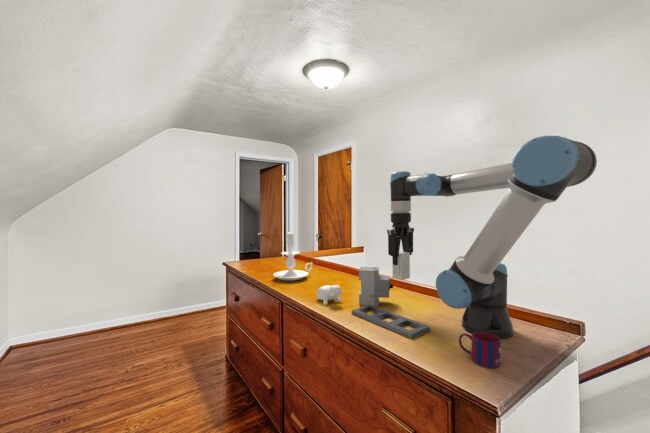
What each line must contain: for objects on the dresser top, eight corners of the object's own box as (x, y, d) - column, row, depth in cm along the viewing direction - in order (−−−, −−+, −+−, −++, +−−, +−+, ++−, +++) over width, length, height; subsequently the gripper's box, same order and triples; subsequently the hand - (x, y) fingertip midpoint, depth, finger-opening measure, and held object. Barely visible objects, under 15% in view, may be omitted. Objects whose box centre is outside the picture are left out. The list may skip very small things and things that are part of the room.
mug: (496, 371, 73) (496, 345, 73) (455, 358, 80) (455, 333, 80) (503, 361, 78) (503, 336, 78) (464, 349, 85) (464, 326, 85)
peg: (409, 278, 113) (409, 252, 113) (402, 280, 110) (401, 253, 110) (400, 276, 117) (400, 251, 116) (392, 277, 114) (392, 252, 114)
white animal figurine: (316, 307, 132) (331, 303, 119) (312, 288, 134) (327, 282, 122) (332, 304, 136) (349, 300, 123) (329, 285, 138) (344, 280, 126)
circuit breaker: (393, 306, 122) (393, 271, 122) (359, 305, 125) (358, 270, 124) (392, 301, 129) (392, 267, 129) (360, 299, 132) (360, 266, 132)
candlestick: (320, 279, 170) (320, 231, 169) (280, 285, 158) (279, 233, 157) (305, 272, 188) (305, 229, 187) (268, 277, 176) (267, 231, 175)
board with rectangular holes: (430, 330, 98) (429, 326, 98) (411, 338, 92) (411, 334, 92) (369, 308, 120) (369, 304, 120) (351, 313, 114) (351, 310, 114)
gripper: (407, 211, 121) (407, 267, 122) (377, 212, 110) (378, 274, 111) (422, 211, 115) (423, 270, 116) (393, 212, 104) (393, 277, 105)
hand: (401, 272), depth 113 cm, fingers closed on peg, 5 cm apart
